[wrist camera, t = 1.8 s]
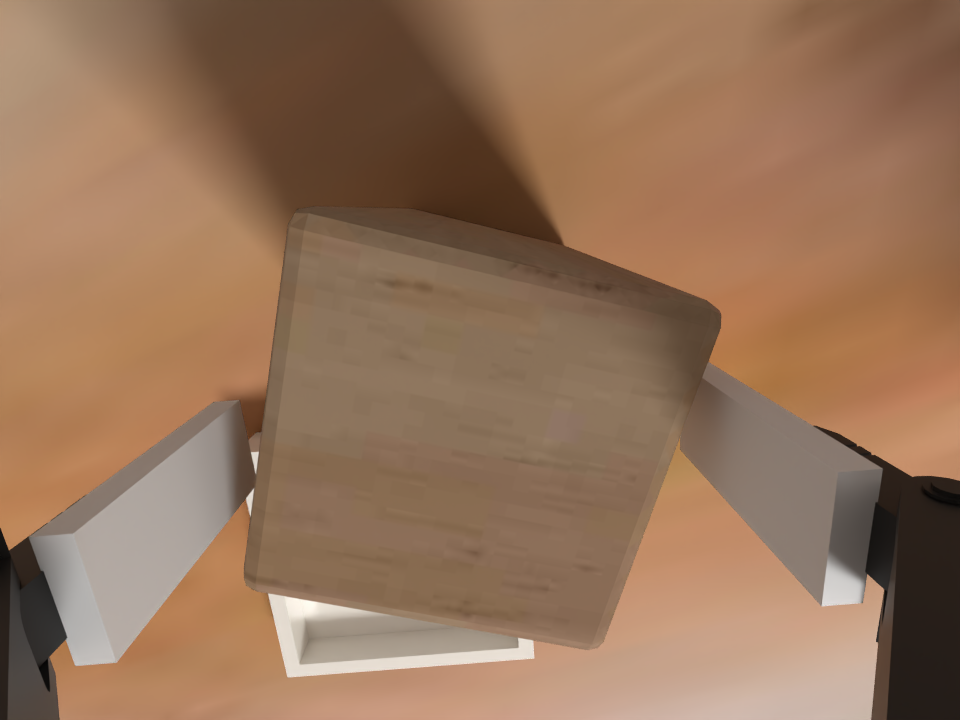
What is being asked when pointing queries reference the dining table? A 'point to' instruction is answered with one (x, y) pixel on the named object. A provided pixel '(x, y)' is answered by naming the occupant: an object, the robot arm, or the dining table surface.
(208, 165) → the dining table surface
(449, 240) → the wooden block
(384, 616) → the dish
